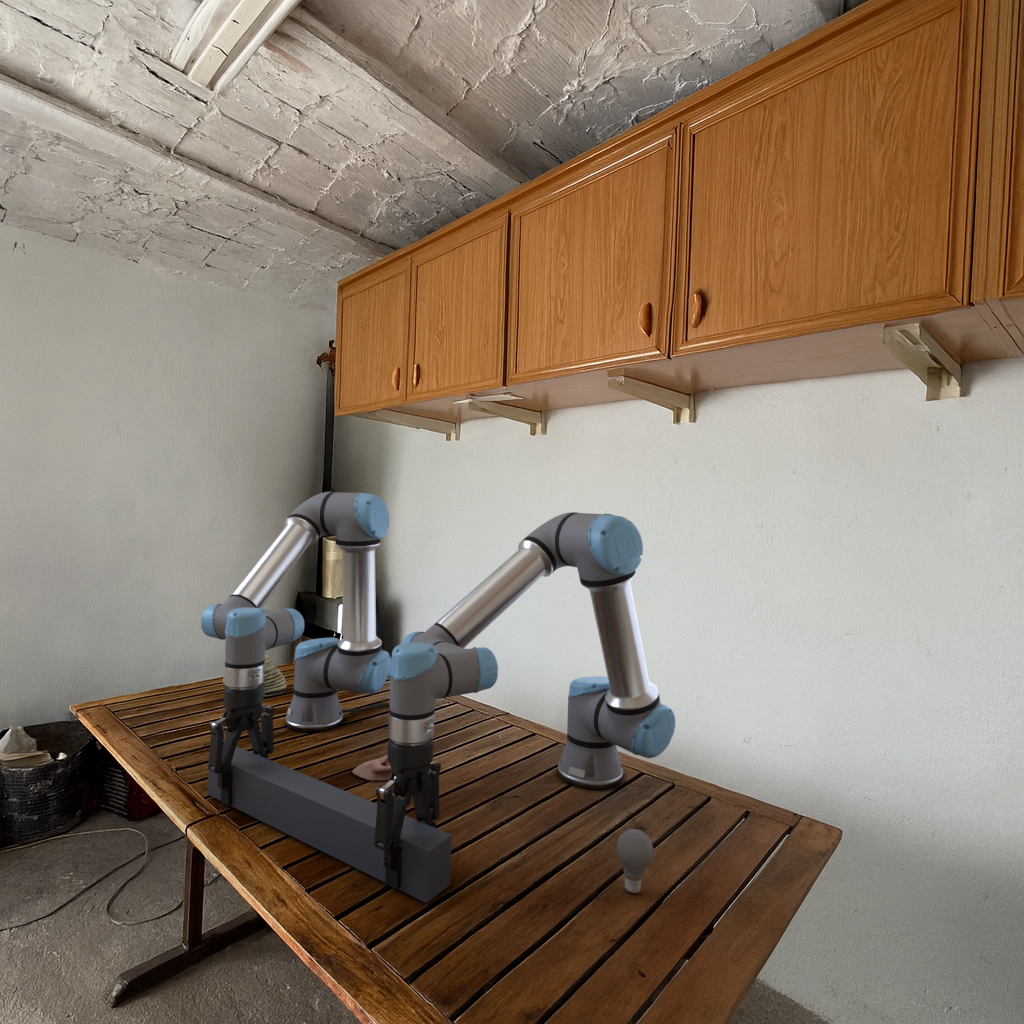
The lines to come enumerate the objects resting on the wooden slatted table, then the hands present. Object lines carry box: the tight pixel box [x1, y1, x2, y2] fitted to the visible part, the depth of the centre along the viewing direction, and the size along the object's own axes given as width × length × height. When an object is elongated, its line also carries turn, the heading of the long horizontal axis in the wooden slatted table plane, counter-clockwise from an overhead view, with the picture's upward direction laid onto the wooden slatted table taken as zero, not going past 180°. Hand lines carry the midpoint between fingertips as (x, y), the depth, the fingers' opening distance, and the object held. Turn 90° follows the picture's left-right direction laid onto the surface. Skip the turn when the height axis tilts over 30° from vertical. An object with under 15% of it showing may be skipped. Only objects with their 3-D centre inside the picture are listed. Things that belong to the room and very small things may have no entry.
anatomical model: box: [352, 754, 391, 782], centre depth 147 cm, size 13×4×12 cm
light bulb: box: [615, 828, 654, 894], centre depth 106 cm, size 6×6×10 cm
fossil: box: [222, 652, 288, 697], centre depth 198 cm, size 9×18×15 cm, turn 132°
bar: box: [207, 745, 453, 904], centre depth 118 cm, size 59×6×8 cm, turn 58°
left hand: (241, 796), depth 130 cm, fingers closed on bar, 6 cm apart
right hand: (406, 875), depth 106 cm, fingers closed on bar, 6 cm apart
